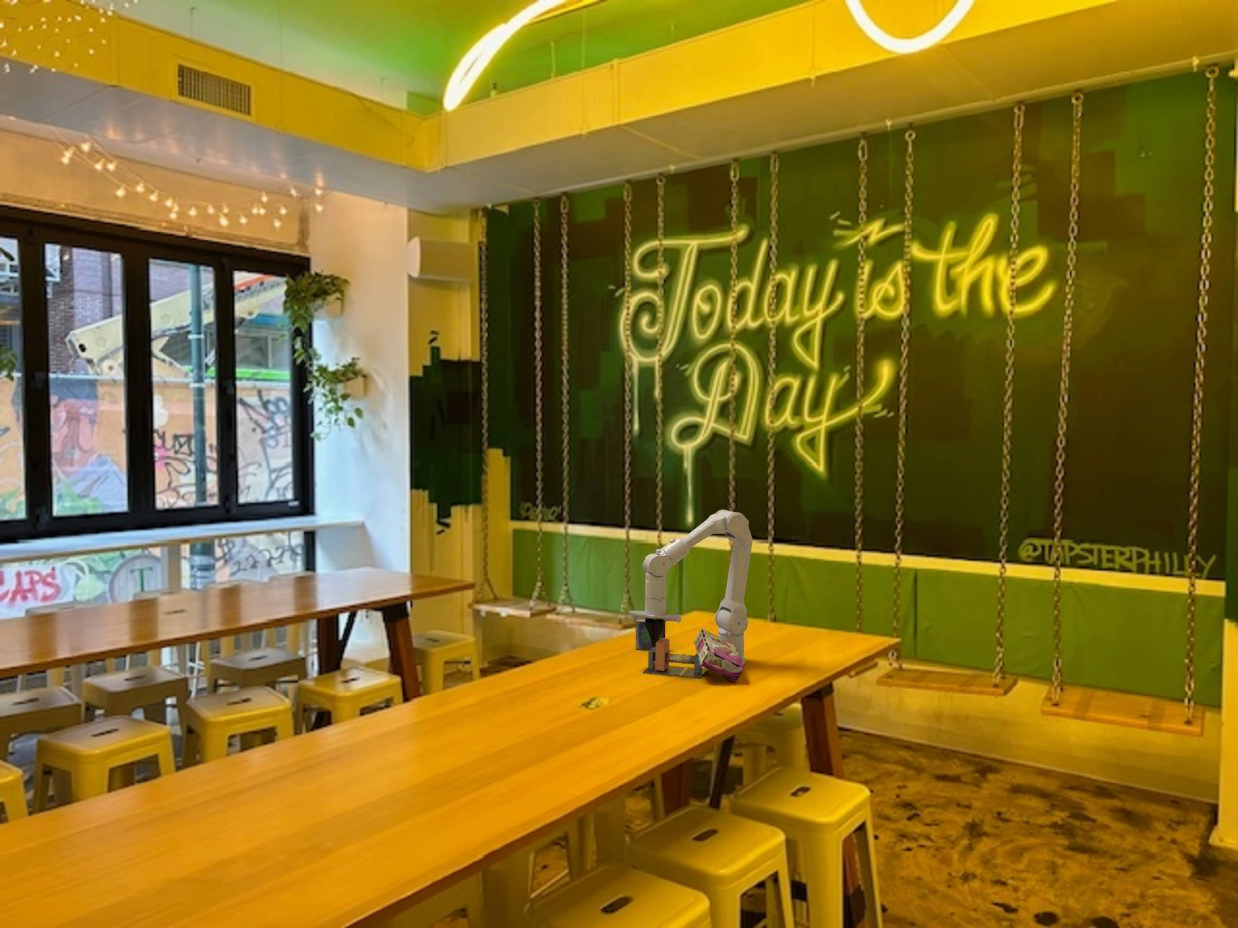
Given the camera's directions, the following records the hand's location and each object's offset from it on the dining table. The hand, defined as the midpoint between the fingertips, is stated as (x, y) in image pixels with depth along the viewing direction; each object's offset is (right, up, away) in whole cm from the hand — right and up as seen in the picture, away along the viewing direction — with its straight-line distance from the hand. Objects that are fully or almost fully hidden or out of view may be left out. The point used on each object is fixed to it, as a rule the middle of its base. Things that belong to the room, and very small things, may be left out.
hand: (654, 645), depth 259 cm
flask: (0, -6, +23) cm, 24 cm away
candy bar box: (+18, -3, -13) cm, 22 cm away
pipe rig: (+6, -7, -1) cm, 9 cm away
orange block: (+2, -7, 0) cm, 7 cm away
